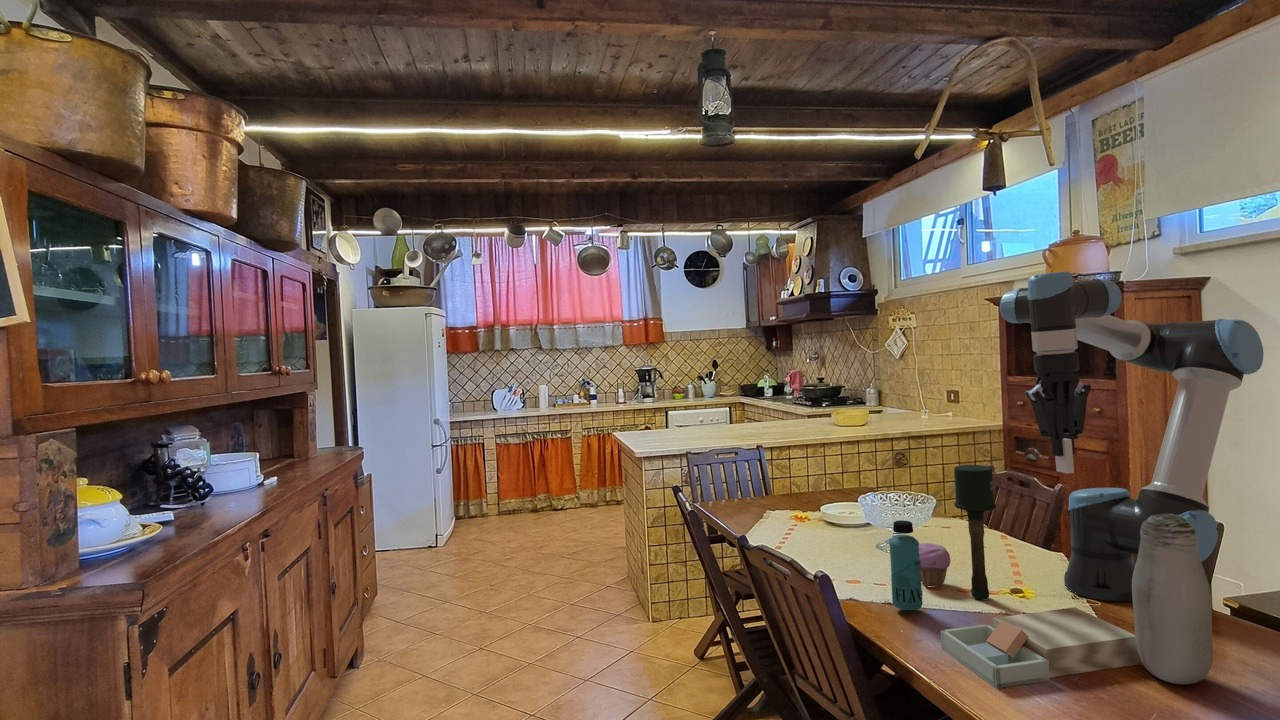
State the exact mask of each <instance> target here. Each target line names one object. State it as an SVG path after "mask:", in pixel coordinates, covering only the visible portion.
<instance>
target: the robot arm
mask: <svg viewBox="0 0 1280 720" xmlns="http://www.w3.org/2000/svg"><path fill="white" fill-rule="evenodd" d="M1122 300H1123V299H1122V291H1121V289H1120V287H1119V286H1118V285H1117V283H1115V282H1114V281H1112V280H1109V279H1104V278H1103V279H1099V278H1094V279H1093V278H1092V279H1085V280H1077V281H1074V280H1073V276H1072V273H1071V272H1069V271H1056V272H1045V273H1040V274H1039V273H1038V274H1034V275H1031V276H1029V278H1028V280H1027V287H1019V288H1018V289H1013V290H1009V291H1006V292H1005V293H1004V294H1003V296H1002V297H1001V299H1000V302H999V304H1000V305H999V311H1000V314H1001V317H1002V318H1003V319H1004V320H1005V321H1006V322H1007V323H1010V324H1018V325H1019V324H1020V325H1021V324H1023V323H1027V324H1030V331H1031V332H1030V333H1031V334H1030V335H1031V345H1032V351H1033V352H1035V354H1034V355H1033V356H1032V357H1033V360H1032V361H1033V369H1034V372H1035V373H1036V375H1037V376H1036V377H1037V378H1036V379H1035V380H1036V381H1035V386H1034V387H1033V388H1032V389H1030V390H1029V389H1028V390H1025V395H1026V397H1027V399H1028V400H1029V401H1030V404H1031V406H1032V407H1031V408H1032V410H1033V413H1034V417H1035V419H1036V424H1037V427H1038V430H1039V432H1040V436H1041V437H1043V438H1047V439H1050V441H1051V452H1052V455H1053V456H1055V458H1054V460H1055V468H1056V472H1058V473H1062V474H1067V475H1068V474H1074V473H1075V467H1074V456H1073V455H1075V452H1076V450H1075V440H1077V439H1078V438H1079V437H1080V436H1079V435H1082V434H1083V433H1084V429H1085V421H1086V411H1087V405H1088V397H1089V394H1090V393H1091V390H1092V385H1091V384H1086V383H1083V382H1082V381H1081V380H1080V376H1079V375H1078V373H1077V372H1078V371H1080V359H1079V358H1080V357H1079V352H1077V351H1076V350H1077V349H1079V344H1078V343H1079V342H1078V341H1080V342H1083V343H1085V344H1088V345H1091V346H1094V347H1097V348H1099V349H1102V350H1106V351H1108V352H1109V353H1110V355H1111V356H1112V357H1114V358H1115V359H1117V360H1120V361H1123V362H1126V363H1128V364H1132V365H1135V366H1138V367H1141V368H1145V369H1148V370H1153V371H1157V372H1161V373H1169V374H1172V376H1173V378H1174V379H1175V380H1176V381H1177V382H1178V384H1177V388H1176V391H1175V395H1174V399H1173V403H1172V406H1171V410H1170V413H1169V418H1168V421H1167V424H1166V427H1165V431H1164V435H1163V438H1162V443H1161V445H1160V450H1159V453H1158V456H1157V461H1156V464H1155V468H1154V472H1153V476H1152V478H1151V483H1149V484H1148V485H1146V486H1143V487H1140V489H1139V493H1138V496H1137V499H1134V498H1131V493H1130V491H1129V490H1128V489H1126V488H1121V487H1093V488H1092V487H1091V488H1083V489H1077V490H1074V491H1072V492H1071V493H1070V494H1069V495H1068V508H1067V511H1068V519H1069V520H1068V521H1069V533H1070V534H1069V535H1070V546H1071V547H1070V549H1071V554H1070V558H1069V562H1068V565H1067V569H1066V571H1065V573H1064V575H1063V576H1064V577H1063V578H1064V579H1063V581H1064V587H1065V586H1066V587H1067V588H1068V589H1069V590H1068V589H1067V588H1066V587H1065V588H1066V589H1067V590H1068V591H1070V590H1071V591H1073V592H1076V593H1078V594H1080V595H1079V596H1081V595H1082V597H1083V598H1084V597H1085V598H1089V599H1093V600H1097V601H1098V600H1099V601H1105V602H1106V601H1107V602H1118V603H1119V602H1121V603H1122V602H1133V598H1132V577H1133V572H1134V567H1135V564H1136V562H1135V560H1134V555H1137V556H1138V553H1139V546H1140V540H1141V536H1140V530H1141V526H1142V524H1143V522H1144V521H1145V520H1146V519H1147V518H1148V517H1150V516H1153V515H1157V514H1176V515H1178V516H1181V517H1183V518H1185V519H1187V520H1188V521H1189V522H1190V523H1191V524H1192V526H1193V527H1194V529H1195V532H1196V535H1197V543H1198V550H1199V556H1200V560H1201V563H1202V562H1205V560H1206V559H1208V557H1210V555H1211V554H1212V553H1213V551H1214V549H1215V547H1216V544H1217V542H1218V537H1219V531H1218V530H1217V528H1218V522H1217V521H1216V518H1215V517H1214V515H1212V514H1211V513H1209V511H1210V505H1209V504H1208V503H1207V502H1206V500H1205V499H1204V498H1203V494H1204V491H1205V486H1206V483H1207V480H1208V476H1209V472H1210V468H1211V465H1212V460H1213V456H1214V453H1215V449H1216V446H1217V445H1216V444H1217V441H1218V437H1219V434H1220V430H1221V426H1222V423H1223V422H1222V421H1223V420H1224V419H1223V418H1224V415H1225V411H1226V407H1227V402H1228V401H1229V400H1228V399H1229V396H1230V392H1231V391H1233V390H1236V389H1238V388H1239V387H1241V386H1242V383H1243V379H1244V376H1245V375H1248V376H1249V375H1252V374H1254V373H1257V372H1258V370H1260V369H1261V368H1262V365H1263V364H1264V363H1263V362H1264V345H1263V343H1262V340H1261V337H1260V334H1259V332H1258V331H1257V330H1256V329H1255V327H1254V326H1253V325H1252V324H1250V323H1249V322H1247V321H1246V320H1243V319H1237V318H1235V319H1224V318H1217V319H1213V320H1198V321H1197V320H1195V321H1181V322H1180V321H1178V322H1158V323H1157V322H1156V323H1151V322H1150V323H1149V322H1143V321H1140V320H1137V319H1136V320H1135V319H1130V320H1124V319H1121V318H1119V317H1116V316H1113V315H1111V314H1113V313H1115V312H1116V311H1117V310H1118V309H1119V307H1120V306H1121V303H1122ZM1071 591H1070V592H1071ZM1073 592H1072V593H1073ZM1076 593H1075V594H1076ZM1078 594H1077V595H1078Z"/></svg>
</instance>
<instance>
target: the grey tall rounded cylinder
mask: <svg viewBox="0 0 1280 720" xmlns="http://www.w3.org/2000/svg"><path fill="white" fill-rule="evenodd" d="M1140 536H1141V540H1140V546H1139V553H1138V555H1137V559H1136V560H1135V561H1136V562H1135V567H1134V572H1133V577H1132V598H1133V601H1132V607H1133V622H1134V633H1135V634H1134V635H1135V638H1136V646H1137V650H1138V657H1139V659H1140V661H1141V663H1142V664H1143V666H1144V667H1145V668H1146V670H1147V671H1148V672H1149V673H1150V674H1151V675H1153V676H1154V677H1156V678H1158V679H1160V680H1161V681H1164V682H1167V683H1170V684H1175V685H1183V686H1185V685H1191V684H1196V683H1199V682H1200V681H1201V682H1202V680H1204V678H1206V677H1207V676H1208V674H1209V673H1210V671H1211V669H1212V666H1213V661H1214V643H1213V642H1214V640H1213V609H1212V605H1213V604H1212V593H1211V587H1210V584H1209V580H1208V577H1207V575H1206V571H1205V569H1204V566H1203V563H1202V562H1201V560H1200V556H1199V550H1198V543H1197V535H1196V532H1195V529H1194V527H1193V526H1192V524H1191V523H1190V522H1189V521H1188V520H1187V519H1185V518H1183V517H1181V516H1178V515H1176V514H1157V515H1153V516H1150V517H1148V518H1147V519H1146V520H1145V521H1144V522H1143V524H1142V526H1141V530H1140Z"/></svg>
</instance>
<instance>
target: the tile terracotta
mask: <svg viewBox="0 0 1280 720" xmlns="http://www.w3.org/2000/svg"><path fill="white" fill-rule="evenodd" d="M1028 637H1029V636H1028V635H1027V634H1026V633H1025V632H1024V631H1023V630H1021V629H1019V628H1017V627H1015V626H1013V625H1012V624H1010V623H1008V622H1006V621H1004V620H1001V622H1000V623H999V624H998V626H997V627H996V628H995V630H994V631H993V632H992V634H991V635H990V636H989V638H988V639H987V640H986V641H987V642H988V643H990V644H992V645H993V646H995V647H997V648H998V649H1000V650H1002V651H1004V652H1005V653H1007V654H1008V656H1009V657H1011V658H1012V659H1013V657H1014V656H1015V655H1016V653H1017V652H1018V651H1019V649H1020V648H1021V647H1022V645H1023V644H1024V643H1025V641H1026V640H1027V639H1028Z"/></svg>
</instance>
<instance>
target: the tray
mask: <svg viewBox="0 0 1280 720" xmlns="http://www.w3.org/2000/svg"><path fill="white" fill-rule="evenodd" d="M994 630H995V628H993V626H992V625H990V624H988V623H987V624H986V623H985V624H977V625H971V626H963V627H957V628H955V627H954V628H949V629H948V628H947V629H941V630H940V646H941V649H942V651H943V650H944V651H945V652H946V653H947V654H949V655H950V656H951V657H952V658H954V659H955V660H957V661H958V662H960V663H961V664H962V665H964V666H965V667H967V668H968V669H969V670H971V671H972V672H974V674H976V675H977V676H979V677H980V678H982V680H984V681H985V682H987V683H988V684H990V685H991V686H992V687H994V688H995V689H998V688H999V689H1004V688H1003V687H1005V688H1010V686H1012V687H1018V685H1019V686H1025V685H1029V684H1038V683H1044V682H1050V681H1051V679H1050V678H1051V677H1049V661H1048V660H1046V659H1045V658H1043V657H1041V656H1040V655H1038V654H1036V653H1035V652H1033V651H1031V650H1030V649H1028V648H1026V647H1025V646H1023V645H1022V647H1021V648H1020V649H1019V651H1018V652H1017V653H1016V655H1015V656H1014V657H1013V659H1012V658H1011V657H1009V656H1008V664H1005V665H998V666H997V665H995V664H994V663H992V662H991V661H989V660H988V659H986V658H985V657H983V656H982V655H980V654H979V653H977V652H976V651H975V650H973V649H972V648H970V647H969V646H970V645H976V644H982V643H987V641H986V640H987V639H988V638H989V636H990V635H991V634H992V632H993V631H994Z"/></svg>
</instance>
